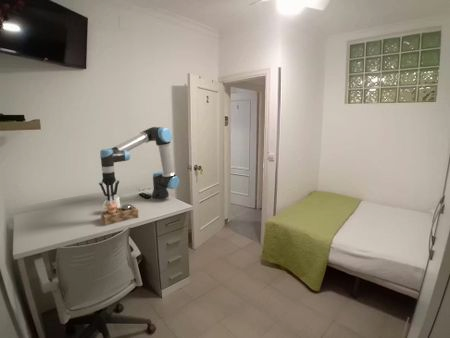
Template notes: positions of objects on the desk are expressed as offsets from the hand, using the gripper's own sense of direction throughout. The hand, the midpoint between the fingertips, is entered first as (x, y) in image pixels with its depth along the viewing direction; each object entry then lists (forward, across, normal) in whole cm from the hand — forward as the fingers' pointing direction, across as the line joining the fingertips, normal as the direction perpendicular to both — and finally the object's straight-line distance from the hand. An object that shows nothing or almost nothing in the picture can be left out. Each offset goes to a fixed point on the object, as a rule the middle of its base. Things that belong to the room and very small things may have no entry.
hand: (111, 204), depth 161 cm
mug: (+12, -3, -15) cm, 19 cm away
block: (+12, -5, 0) cm, 13 cm away
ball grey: (+11, -10, 0) cm, 15 cm away
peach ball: (+8, 0, 0) cm, 8 cm away
